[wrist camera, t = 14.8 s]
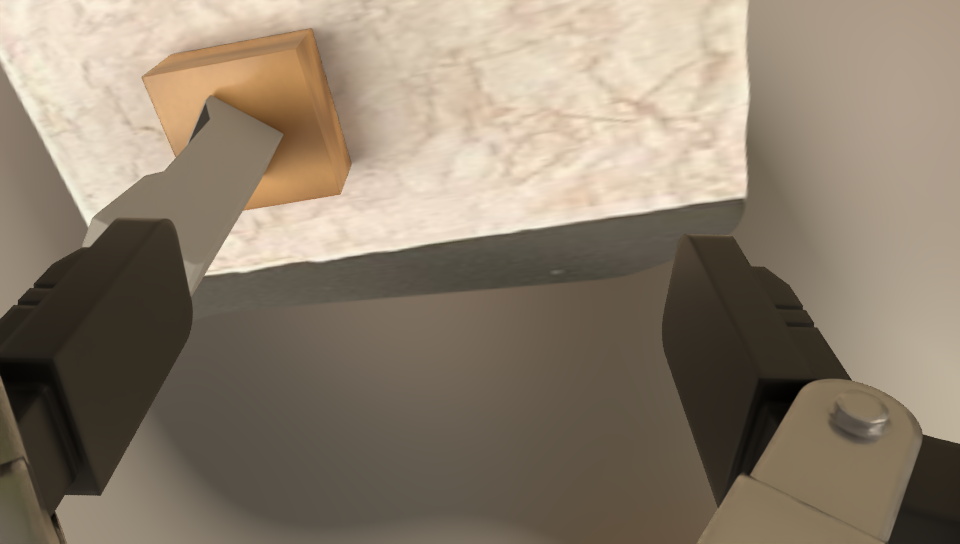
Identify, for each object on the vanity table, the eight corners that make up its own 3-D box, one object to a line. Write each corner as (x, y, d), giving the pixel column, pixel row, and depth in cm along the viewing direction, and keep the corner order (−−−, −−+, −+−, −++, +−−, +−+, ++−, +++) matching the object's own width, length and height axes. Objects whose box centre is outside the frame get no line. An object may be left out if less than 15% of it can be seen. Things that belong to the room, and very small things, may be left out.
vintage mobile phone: (211, 92, 46) (-17, 329, 25) (285, 131, 48) (128, 387, 26) (191, 140, 48) (-39, 400, 27) (262, 177, 49) (98, 452, 28)
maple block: (169, 54, 50) (140, 77, 46) (311, 28, 49) (295, 48, 45) (222, 186, 55) (201, 217, 51) (351, 165, 54) (340, 194, 50)
